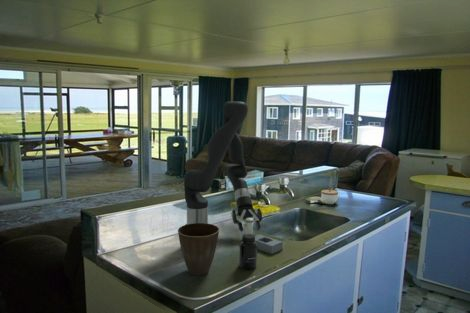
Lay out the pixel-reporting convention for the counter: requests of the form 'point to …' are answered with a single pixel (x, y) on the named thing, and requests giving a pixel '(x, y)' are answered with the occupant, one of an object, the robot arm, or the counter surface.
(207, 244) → the plant pot
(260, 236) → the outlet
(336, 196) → the lidded jar
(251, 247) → the supplement bottle
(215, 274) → the counter surface
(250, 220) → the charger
